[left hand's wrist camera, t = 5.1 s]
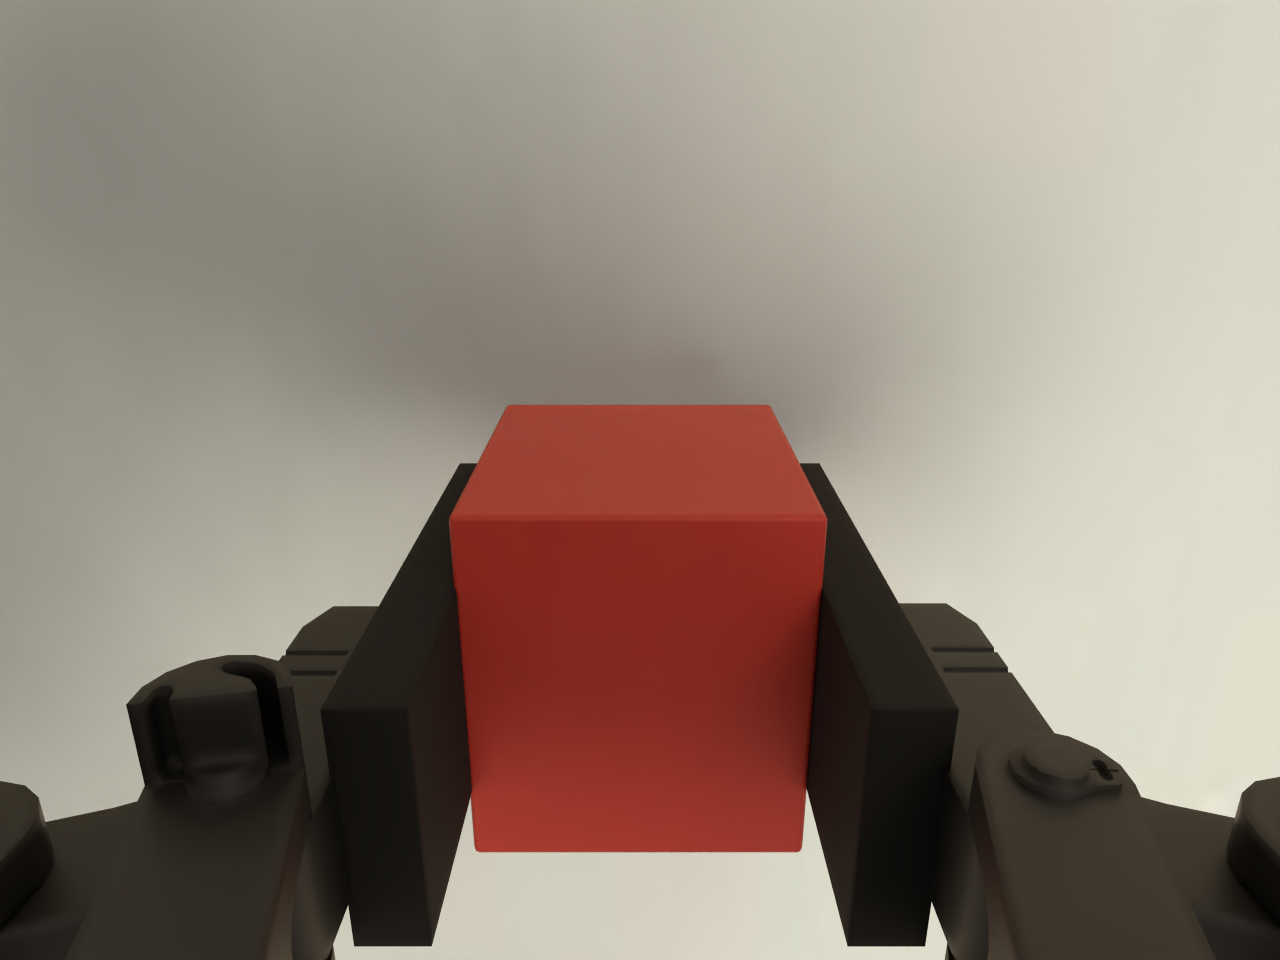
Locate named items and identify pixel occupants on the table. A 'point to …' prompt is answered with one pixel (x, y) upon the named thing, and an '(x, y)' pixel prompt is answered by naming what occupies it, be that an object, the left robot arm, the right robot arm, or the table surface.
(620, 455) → the brick
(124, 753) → the table surface
